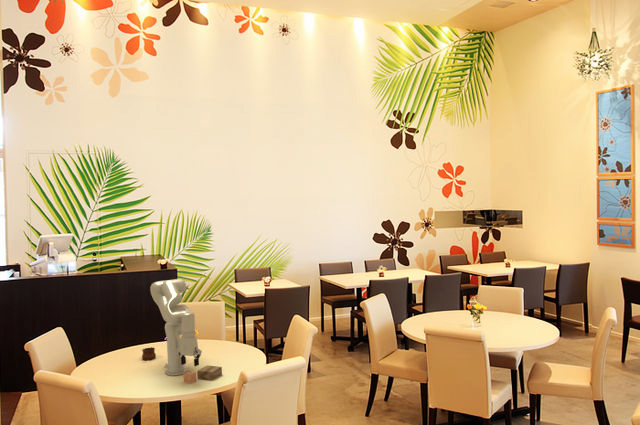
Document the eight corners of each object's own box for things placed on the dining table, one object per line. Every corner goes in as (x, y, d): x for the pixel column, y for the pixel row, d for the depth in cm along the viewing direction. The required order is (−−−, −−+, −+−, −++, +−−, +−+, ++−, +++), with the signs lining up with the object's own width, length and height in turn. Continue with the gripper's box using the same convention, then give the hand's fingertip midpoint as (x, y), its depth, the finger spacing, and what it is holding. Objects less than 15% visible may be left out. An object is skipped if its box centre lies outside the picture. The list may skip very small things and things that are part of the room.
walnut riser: (197, 379, 299) (197, 370, 299) (207, 373, 308) (207, 365, 308) (212, 381, 295) (212, 372, 295) (222, 375, 305) (221, 366, 305)
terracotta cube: (183, 382, 294) (183, 373, 294) (189, 379, 298) (189, 371, 298) (190, 383, 291) (190, 374, 291) (196, 381, 296) (196, 372, 296)
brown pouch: (152, 363, 331) (152, 352, 331) (128, 362, 336) (128, 351, 336) (168, 356, 348) (168, 345, 348) (145, 355, 353) (145, 344, 353)
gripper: (172, 335, 295) (173, 365, 295) (195, 336, 287) (197, 368, 286) (181, 332, 301) (183, 361, 301) (204, 333, 293) (206, 364, 293)
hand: (190, 364), depth 294 cm, fingers open, 9 cm apart
